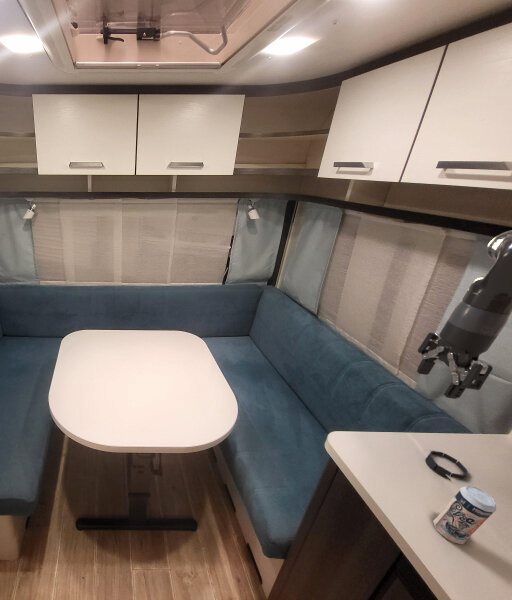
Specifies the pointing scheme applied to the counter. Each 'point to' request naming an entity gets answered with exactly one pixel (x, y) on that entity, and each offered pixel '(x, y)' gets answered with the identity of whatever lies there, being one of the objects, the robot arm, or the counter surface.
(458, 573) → the counter surface
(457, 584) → the counter surface
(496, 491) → the counter surface
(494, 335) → the robot arm
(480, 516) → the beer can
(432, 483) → the counter surface
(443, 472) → the black ring
